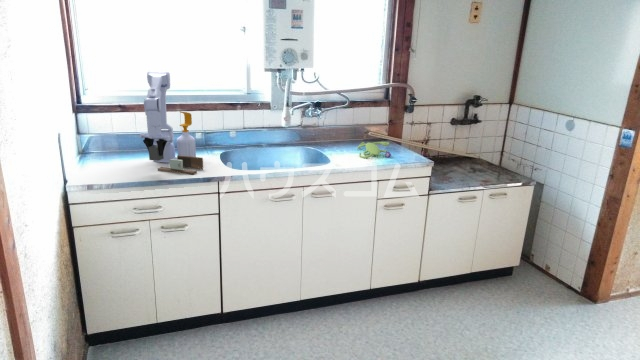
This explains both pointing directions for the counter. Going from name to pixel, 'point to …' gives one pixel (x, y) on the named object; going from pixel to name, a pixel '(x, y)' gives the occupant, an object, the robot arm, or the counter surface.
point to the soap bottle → (186, 139)
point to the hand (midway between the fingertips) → (156, 154)
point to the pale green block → (176, 164)
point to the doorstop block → (154, 153)
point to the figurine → (373, 149)
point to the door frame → (186, 165)
